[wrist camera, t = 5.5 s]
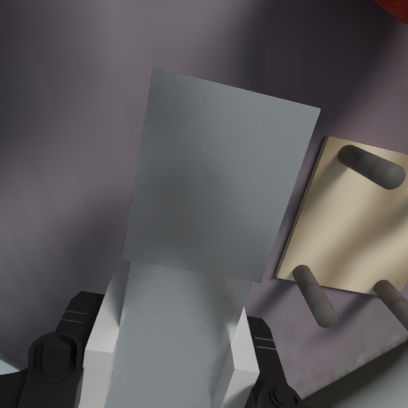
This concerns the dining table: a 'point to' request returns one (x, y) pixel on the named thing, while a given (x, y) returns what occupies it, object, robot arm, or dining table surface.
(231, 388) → the robot arm
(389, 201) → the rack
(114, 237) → the dining table surface
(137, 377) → the grey stepped post
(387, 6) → the apple
